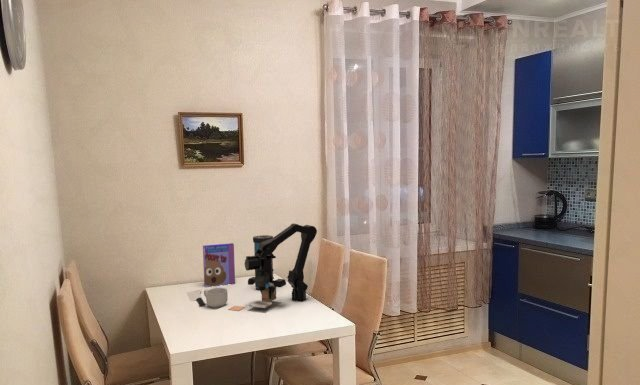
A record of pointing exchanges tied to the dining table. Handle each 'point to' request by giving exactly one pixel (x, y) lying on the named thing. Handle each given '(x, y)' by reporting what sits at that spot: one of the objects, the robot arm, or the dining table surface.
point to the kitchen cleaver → (196, 297)
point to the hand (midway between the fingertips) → (267, 299)
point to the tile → (236, 308)
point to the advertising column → (257, 241)
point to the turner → (264, 299)
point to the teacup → (216, 297)
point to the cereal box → (218, 264)
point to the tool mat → (264, 310)
